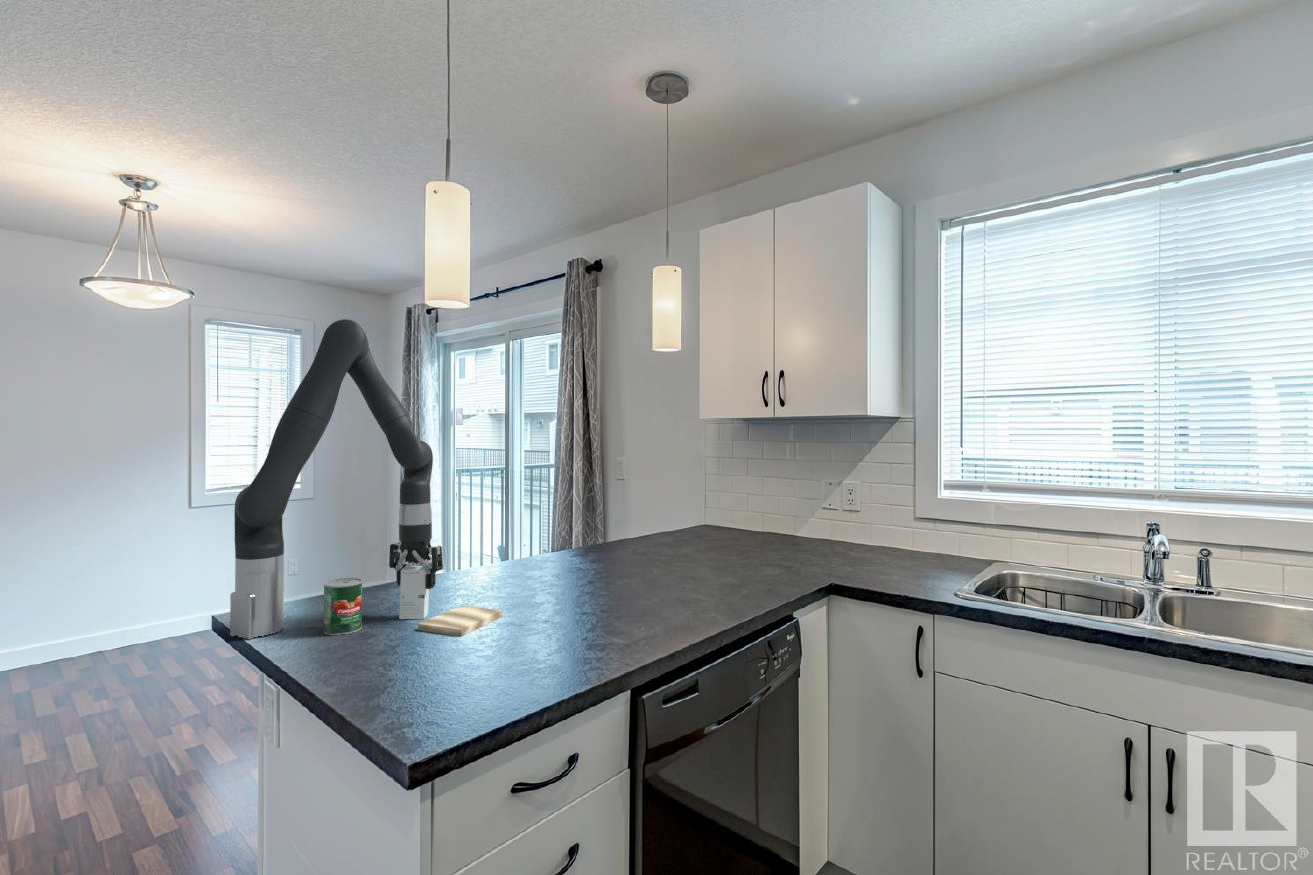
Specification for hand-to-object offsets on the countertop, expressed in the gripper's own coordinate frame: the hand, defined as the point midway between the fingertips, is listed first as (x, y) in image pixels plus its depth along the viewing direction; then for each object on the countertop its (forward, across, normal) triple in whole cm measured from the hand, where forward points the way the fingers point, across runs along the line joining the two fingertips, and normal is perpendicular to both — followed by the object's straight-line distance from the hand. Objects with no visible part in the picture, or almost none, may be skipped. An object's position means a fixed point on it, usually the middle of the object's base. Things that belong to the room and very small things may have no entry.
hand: (416, 586), depth 151 cm
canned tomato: (+7, -8, -14) cm, 18 cm away
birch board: (+7, +14, -1) cm, 16 cm away
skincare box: (+7, 0, -1) cm, 7 cm away
